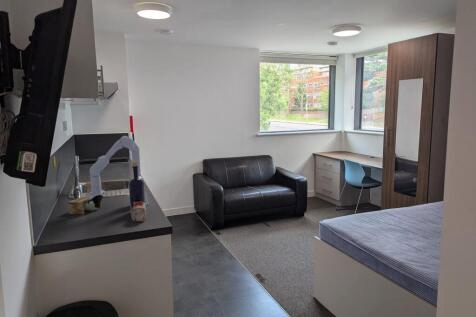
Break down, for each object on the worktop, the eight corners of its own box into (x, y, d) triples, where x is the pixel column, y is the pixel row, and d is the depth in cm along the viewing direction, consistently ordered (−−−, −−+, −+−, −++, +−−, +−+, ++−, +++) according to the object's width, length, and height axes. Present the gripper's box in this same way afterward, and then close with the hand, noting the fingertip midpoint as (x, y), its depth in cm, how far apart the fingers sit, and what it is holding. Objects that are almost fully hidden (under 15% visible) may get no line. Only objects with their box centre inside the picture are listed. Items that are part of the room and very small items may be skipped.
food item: (146, 222, 182) (145, 204, 180) (131, 223, 180) (130, 205, 179) (146, 214, 195) (145, 198, 194) (132, 216, 193) (131, 199, 192)
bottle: (147, 209, 205) (144, 160, 200) (144, 214, 195) (140, 162, 191) (132, 210, 204) (129, 160, 200) (127, 214, 195) (124, 163, 191)
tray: (98, 208, 210) (97, 201, 209) (93, 210, 205) (93, 203, 204) (85, 207, 211) (84, 200, 211) (80, 210, 206) (79, 202, 206)
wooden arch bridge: (101, 204, 217) (101, 194, 216) (83, 214, 198) (82, 202, 197) (89, 204, 219) (88, 194, 218) (69, 213, 200) (68, 202, 199)
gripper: (96, 183, 213) (98, 204, 215) (82, 188, 199) (84, 211, 200) (107, 183, 211) (108, 204, 213) (93, 188, 197) (95, 211, 199)
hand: (97, 207), depth 207 cm, fingers closed, pressing on tray
